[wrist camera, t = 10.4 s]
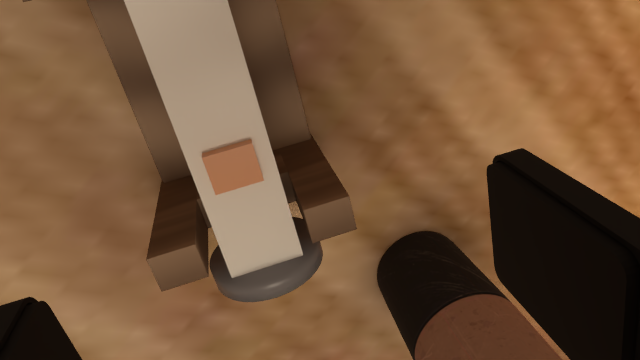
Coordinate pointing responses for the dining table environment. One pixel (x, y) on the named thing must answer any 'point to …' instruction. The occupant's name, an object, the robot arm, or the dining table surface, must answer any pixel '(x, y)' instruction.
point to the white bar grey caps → (225, 146)
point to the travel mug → (452, 305)
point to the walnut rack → (177, 182)
